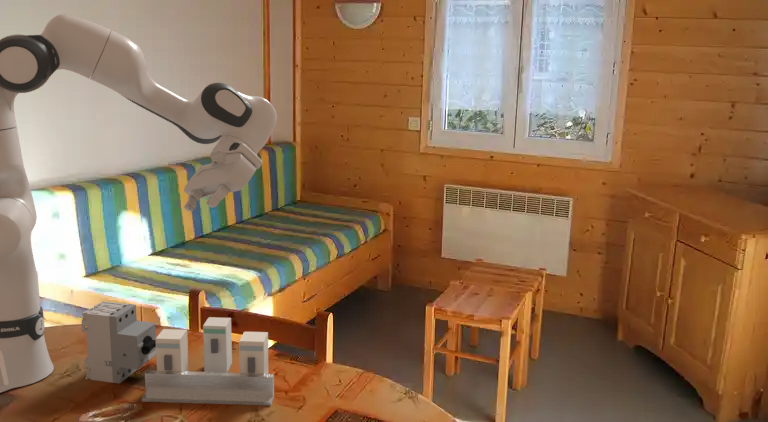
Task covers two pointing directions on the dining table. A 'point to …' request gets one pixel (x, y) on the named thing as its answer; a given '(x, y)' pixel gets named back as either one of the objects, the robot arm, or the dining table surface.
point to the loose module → (217, 344)
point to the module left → (172, 350)
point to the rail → (209, 387)
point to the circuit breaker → (116, 341)
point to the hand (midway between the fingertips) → (199, 207)
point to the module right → (254, 352)
